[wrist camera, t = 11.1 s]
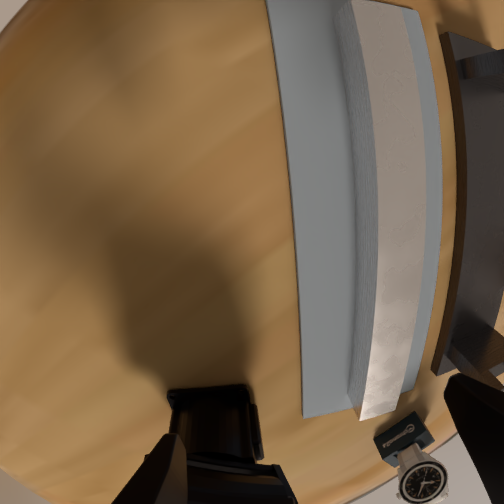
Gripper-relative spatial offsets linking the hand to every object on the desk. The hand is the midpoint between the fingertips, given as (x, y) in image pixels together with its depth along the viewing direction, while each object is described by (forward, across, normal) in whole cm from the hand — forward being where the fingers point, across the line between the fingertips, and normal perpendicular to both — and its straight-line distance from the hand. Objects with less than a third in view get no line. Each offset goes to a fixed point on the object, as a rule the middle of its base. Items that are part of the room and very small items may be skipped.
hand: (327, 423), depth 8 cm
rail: (+12, -7, -2) cm, 14 cm away
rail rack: (+12, -18, -2) cm, 22 cm away
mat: (+12, -7, -2) cm, 14 cm away
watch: (+12, -13, +22) cm, 28 cm away
